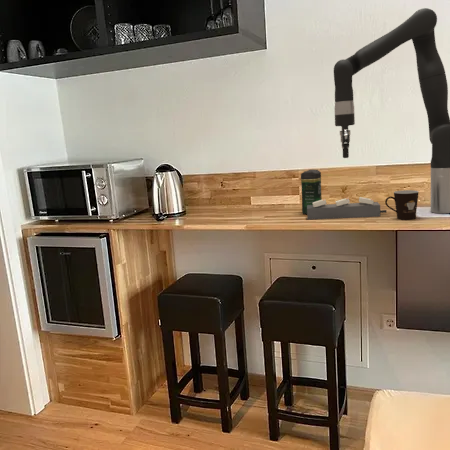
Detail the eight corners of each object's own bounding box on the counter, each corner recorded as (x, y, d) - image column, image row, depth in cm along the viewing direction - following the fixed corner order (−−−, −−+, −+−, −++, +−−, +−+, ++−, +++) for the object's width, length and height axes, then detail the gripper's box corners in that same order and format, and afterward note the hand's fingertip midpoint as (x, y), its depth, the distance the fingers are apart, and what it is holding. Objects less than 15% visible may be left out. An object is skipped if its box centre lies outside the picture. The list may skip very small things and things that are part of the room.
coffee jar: (318, 215, 201) (316, 170, 198) (300, 215, 205) (298, 171, 201) (324, 211, 210) (322, 168, 206) (307, 211, 213) (304, 168, 210)
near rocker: (371, 203, 192) (372, 199, 191) (372, 204, 188) (373, 200, 188) (358, 200, 192) (359, 196, 192) (359, 202, 189) (360, 197, 188)
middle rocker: (349, 201, 193) (348, 197, 193) (349, 202, 189) (348, 198, 189) (336, 204, 194) (335, 201, 194) (336, 206, 191) (335, 202, 190)
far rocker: (326, 202, 195) (325, 198, 194) (326, 203, 191) (325, 199, 191) (313, 206, 196) (312, 202, 196) (313, 207, 192) (312, 203, 192)
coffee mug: (418, 216, 183) (418, 189, 181) (419, 220, 175) (419, 193, 173) (385, 216, 187) (385, 191, 185) (385, 221, 179) (384, 194, 177)
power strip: (384, 212, 195) (384, 200, 194) (387, 216, 187) (387, 203, 186) (307, 216, 201) (307, 204, 200) (307, 219, 193) (306, 207, 192)
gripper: (355, 112, 182) (356, 158, 186) (353, 113, 195) (354, 156, 198) (335, 113, 184) (336, 159, 187) (334, 114, 197) (335, 157, 200)
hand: (345, 157), depth 193 cm, fingers closed
